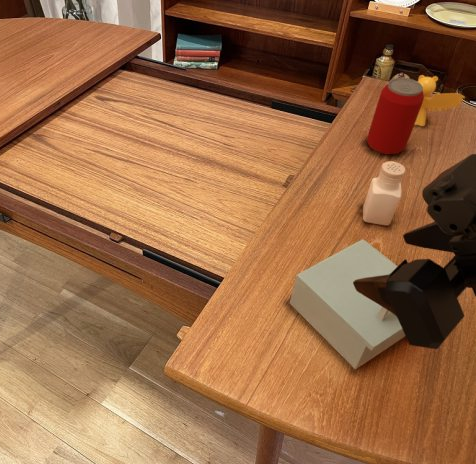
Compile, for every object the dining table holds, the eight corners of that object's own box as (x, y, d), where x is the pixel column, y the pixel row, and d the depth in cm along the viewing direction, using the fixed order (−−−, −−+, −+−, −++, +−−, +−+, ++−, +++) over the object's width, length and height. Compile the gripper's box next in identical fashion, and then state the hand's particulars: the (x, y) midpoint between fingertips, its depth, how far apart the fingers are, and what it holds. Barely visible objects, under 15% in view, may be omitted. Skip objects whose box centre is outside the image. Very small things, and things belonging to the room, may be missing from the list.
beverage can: (404, 139, 93) (427, 78, 85) (404, 160, 89) (428, 98, 80) (366, 133, 95) (384, 73, 86) (364, 153, 90) (383, 92, 82)
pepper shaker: (389, 227, 77) (409, 178, 70) (362, 223, 78) (379, 173, 71) (388, 210, 80) (408, 161, 73) (362, 206, 80) (378, 157, 74)
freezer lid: (440, 306, 60) (456, 278, 57) (371, 351, 56) (384, 325, 52) (361, 242, 68) (371, 215, 64) (295, 278, 64) (302, 251, 60)
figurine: (440, 100, 102) (457, 59, 96) (449, 133, 94) (468, 90, 88) (378, 94, 105) (391, 53, 98) (382, 126, 96) (396, 83, 90)
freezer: (420, 325, 64) (434, 301, 61) (355, 369, 60) (366, 346, 56) (352, 267, 71) (361, 243, 68) (289, 303, 67) (295, 279, 64)
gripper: (575, 107, 40) (399, 150, 54) (466, 217, 32) (289, 236, 45) (617, 229, 42) (437, 242, 56) (526, 365, 33) (339, 341, 47)
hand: (381, 261), depth 51 cm, fingers open, 9 cm apart
